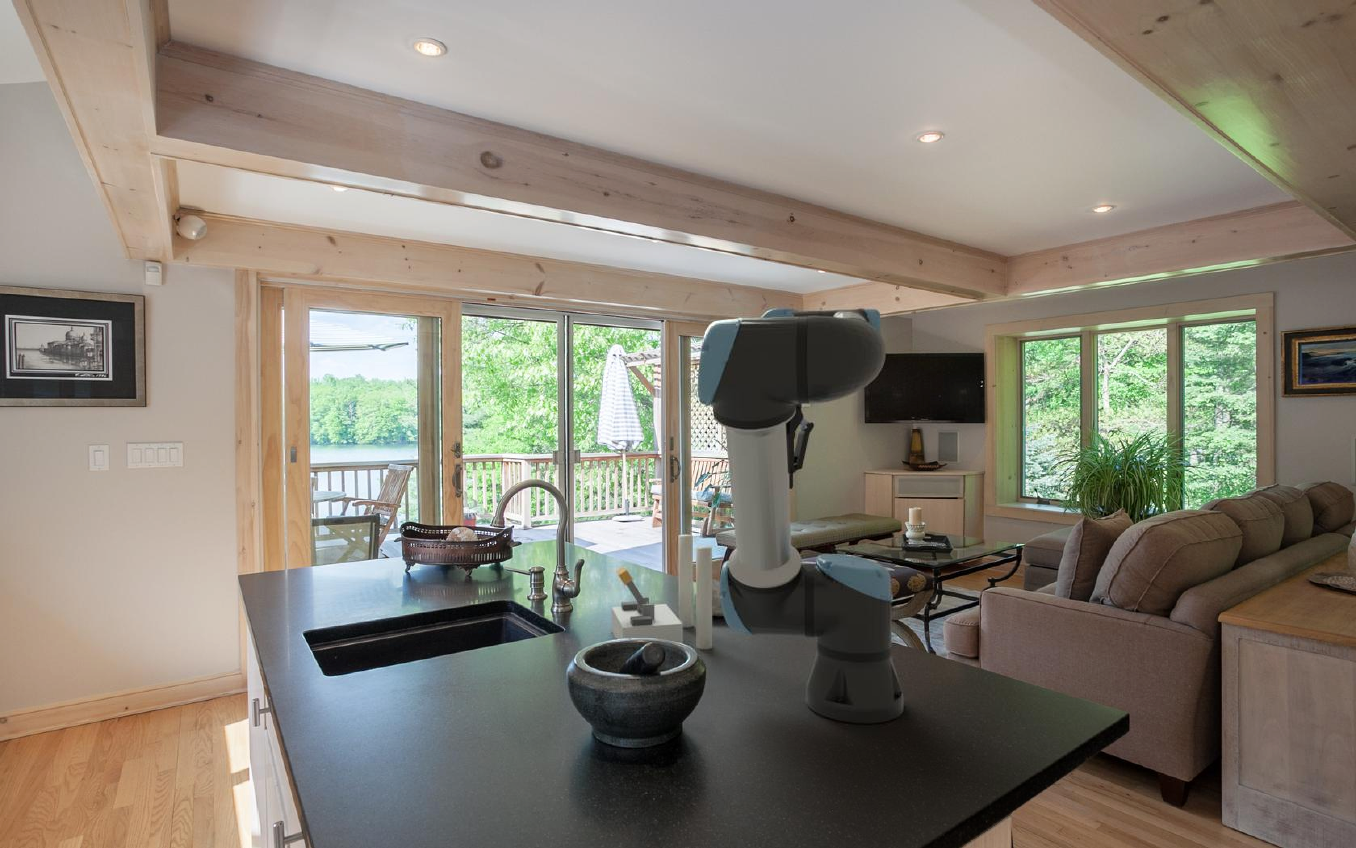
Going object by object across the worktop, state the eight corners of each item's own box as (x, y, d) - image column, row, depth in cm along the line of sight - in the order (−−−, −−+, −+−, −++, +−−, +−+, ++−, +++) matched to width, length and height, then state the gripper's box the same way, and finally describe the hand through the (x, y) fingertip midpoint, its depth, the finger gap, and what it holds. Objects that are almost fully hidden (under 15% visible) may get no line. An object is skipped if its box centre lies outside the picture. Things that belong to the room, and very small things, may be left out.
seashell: (728, 606, 159) (738, 557, 171) (680, 612, 164) (694, 564, 176) (743, 633, 164) (752, 584, 175) (697, 638, 168) (709, 590, 180)
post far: (694, 627, 159) (694, 536, 159) (680, 628, 158) (680, 537, 158) (691, 623, 162) (690, 534, 162) (677, 624, 161) (676, 534, 161)
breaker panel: (682, 648, 144) (682, 608, 144) (623, 653, 141) (622, 612, 141) (665, 626, 159) (665, 590, 159) (611, 630, 157) (611, 593, 157)
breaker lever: (654, 611, 149) (626, 569, 147) (645, 617, 148) (618, 575, 147) (650, 606, 152) (623, 566, 151) (642, 612, 152) (615, 571, 151)
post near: (714, 648, 144) (713, 548, 144) (698, 650, 143) (698, 549, 143) (709, 644, 147) (709, 545, 147) (694, 645, 146) (694, 546, 146)
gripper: (803, 389, 150) (803, 503, 149) (745, 388, 146) (745, 504, 146) (821, 387, 143) (821, 506, 142) (760, 385, 139) (760, 508, 138)
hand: (782, 505), depth 144 cm, fingers closed
